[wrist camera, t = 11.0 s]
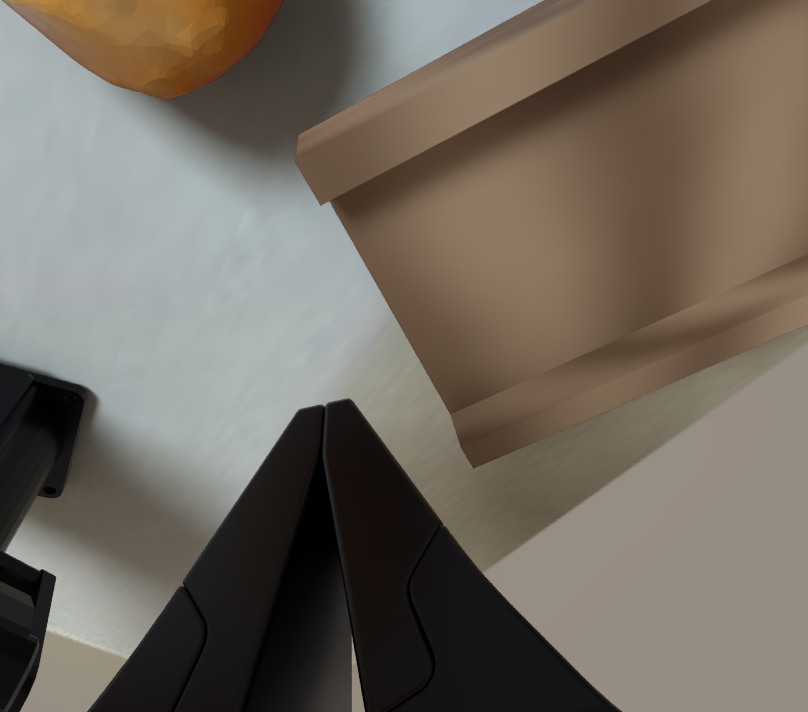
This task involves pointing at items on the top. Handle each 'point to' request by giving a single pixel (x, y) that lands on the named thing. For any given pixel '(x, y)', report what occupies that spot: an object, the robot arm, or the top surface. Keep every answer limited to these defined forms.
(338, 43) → the top surface
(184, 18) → the fruit
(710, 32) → the beam
